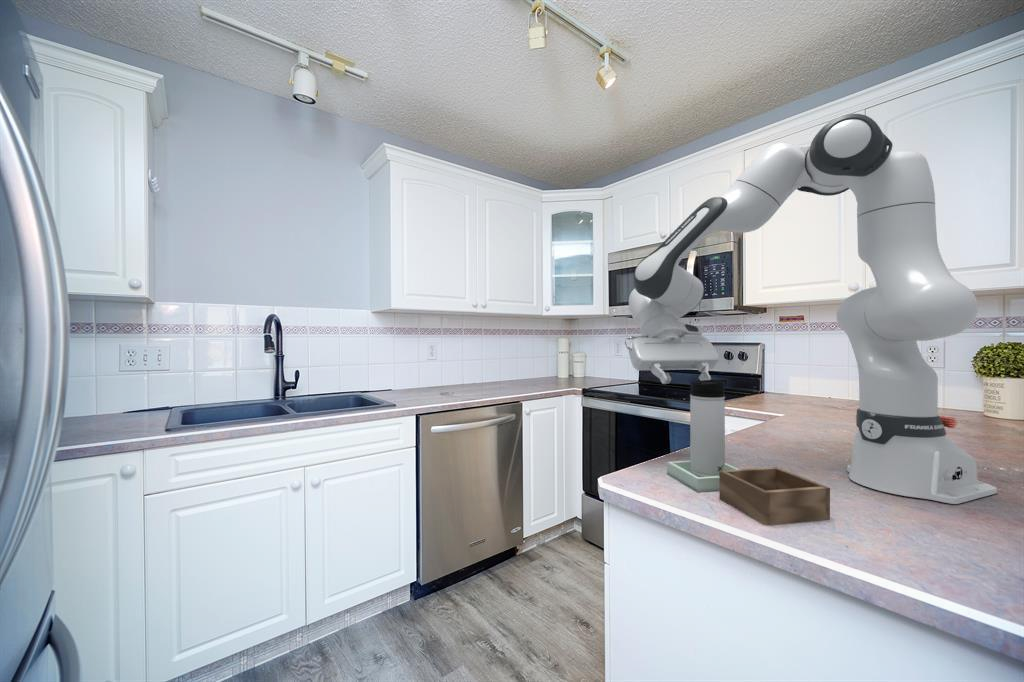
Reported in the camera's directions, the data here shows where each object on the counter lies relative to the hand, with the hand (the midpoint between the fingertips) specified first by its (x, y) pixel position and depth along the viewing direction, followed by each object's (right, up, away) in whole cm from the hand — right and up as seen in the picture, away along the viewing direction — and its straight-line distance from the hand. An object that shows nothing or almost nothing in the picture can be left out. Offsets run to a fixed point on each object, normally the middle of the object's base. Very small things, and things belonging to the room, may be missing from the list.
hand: (687, 381), depth 89 cm
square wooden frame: (+6, -19, -20) cm, 28 cm away
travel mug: (+1, -19, -7) cm, 20 cm away
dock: (+1, -19, -7) cm, 20 cm away
